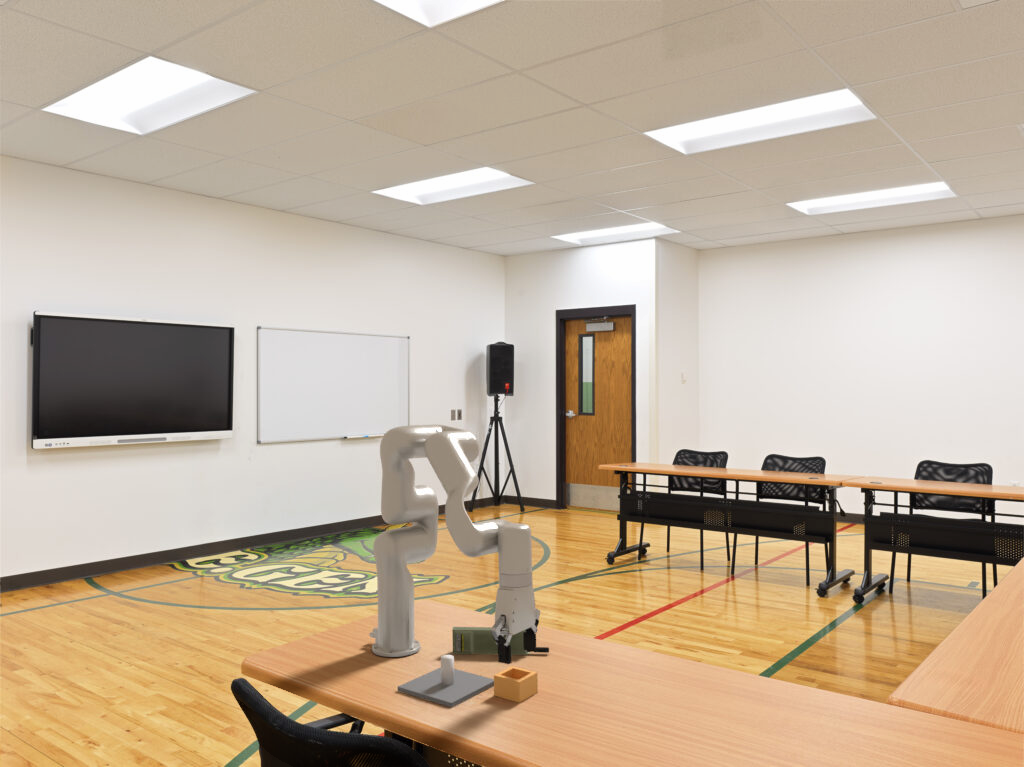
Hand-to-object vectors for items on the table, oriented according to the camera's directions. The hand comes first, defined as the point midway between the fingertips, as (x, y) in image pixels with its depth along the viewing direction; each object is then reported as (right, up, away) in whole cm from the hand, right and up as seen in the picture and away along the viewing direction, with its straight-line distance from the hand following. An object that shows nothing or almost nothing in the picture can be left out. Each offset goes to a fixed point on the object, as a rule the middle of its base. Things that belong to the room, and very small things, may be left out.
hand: (517, 656), depth 173 cm
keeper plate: (-16, -9, +4) cm, 19 cm away
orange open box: (0, -9, 0) cm, 9 cm away
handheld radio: (-4, -9, +27) cm, 29 cm away
